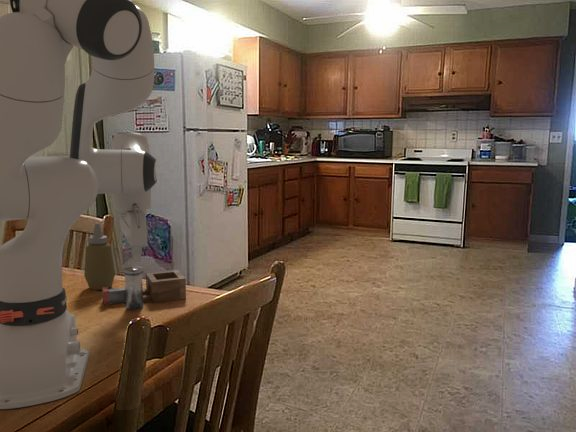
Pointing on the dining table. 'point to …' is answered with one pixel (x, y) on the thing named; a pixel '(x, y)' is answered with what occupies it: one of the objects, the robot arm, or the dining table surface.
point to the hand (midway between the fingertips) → (133, 256)
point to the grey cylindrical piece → (134, 287)
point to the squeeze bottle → (99, 261)
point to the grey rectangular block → (113, 295)
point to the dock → (164, 286)
